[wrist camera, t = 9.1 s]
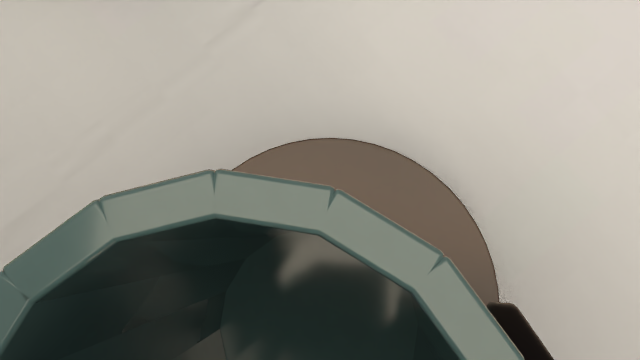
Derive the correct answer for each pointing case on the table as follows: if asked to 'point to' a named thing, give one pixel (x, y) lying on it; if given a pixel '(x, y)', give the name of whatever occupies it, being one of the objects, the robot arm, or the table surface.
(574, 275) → the table surface
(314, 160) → the trivet
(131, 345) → the tumbler
